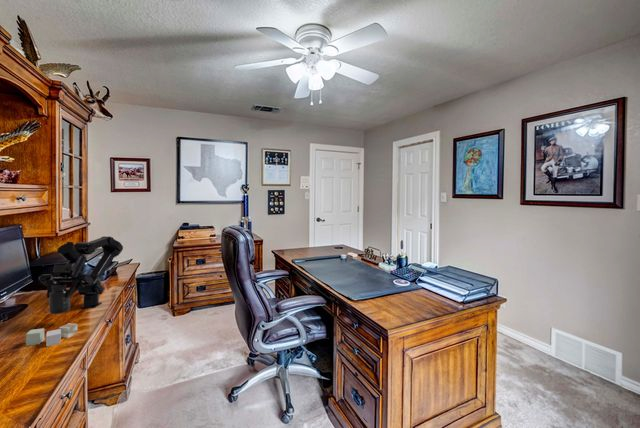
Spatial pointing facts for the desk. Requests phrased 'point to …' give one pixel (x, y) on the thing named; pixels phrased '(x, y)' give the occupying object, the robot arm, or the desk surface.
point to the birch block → (68, 330)
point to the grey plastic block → (53, 337)
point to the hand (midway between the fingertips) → (57, 297)
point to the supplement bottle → (59, 299)
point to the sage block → (34, 337)
